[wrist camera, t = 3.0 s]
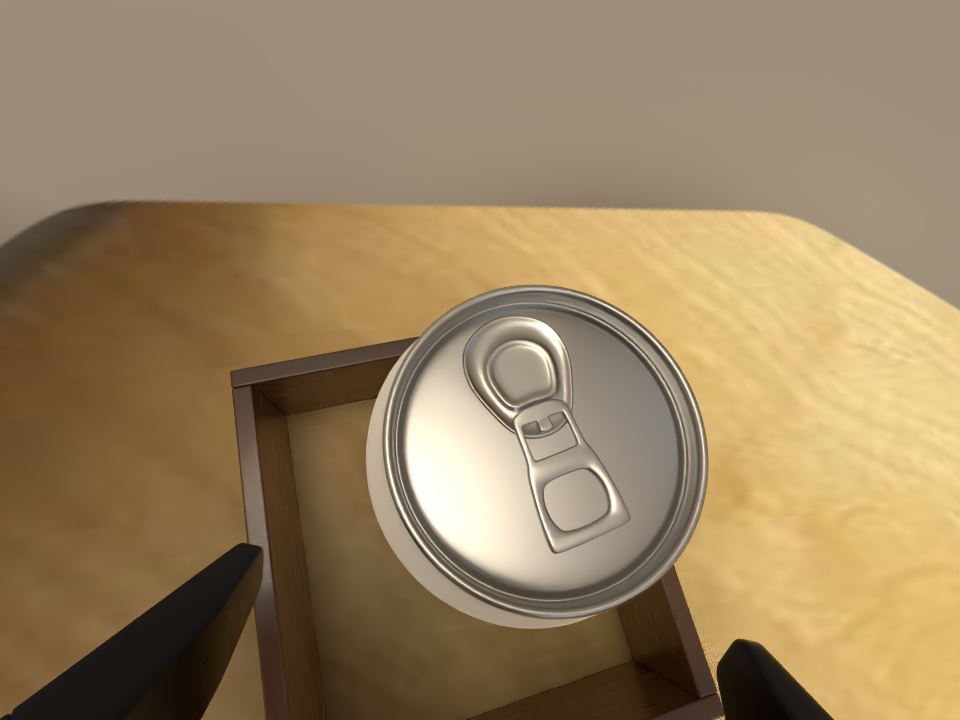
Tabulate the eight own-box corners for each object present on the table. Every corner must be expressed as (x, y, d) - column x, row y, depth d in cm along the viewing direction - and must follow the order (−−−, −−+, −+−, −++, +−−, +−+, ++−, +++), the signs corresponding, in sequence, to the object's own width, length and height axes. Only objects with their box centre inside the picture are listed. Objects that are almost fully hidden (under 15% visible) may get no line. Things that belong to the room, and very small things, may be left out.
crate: (652, 672, 18) (726, 716, 14) (317, 795, 15) (282, 894, 11) (550, 348, 22) (584, 305, 18) (268, 405, 19) (229, 370, 15)
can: (511, 389, 21) (629, 228, 10) (573, 536, 19) (803, 548, 8) (366, 440, 19) (305, 319, 8) (419, 606, 18) (435, 741, 6)
